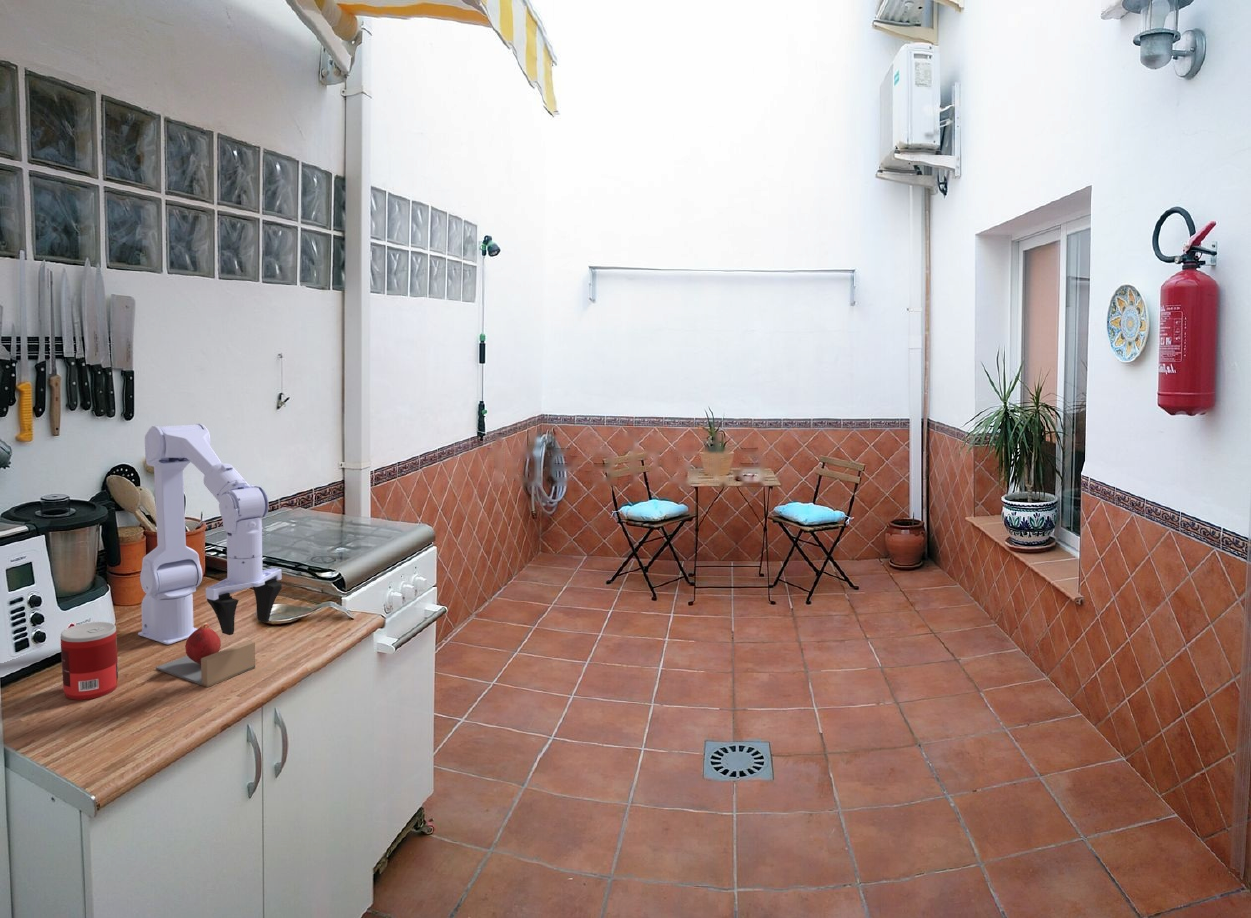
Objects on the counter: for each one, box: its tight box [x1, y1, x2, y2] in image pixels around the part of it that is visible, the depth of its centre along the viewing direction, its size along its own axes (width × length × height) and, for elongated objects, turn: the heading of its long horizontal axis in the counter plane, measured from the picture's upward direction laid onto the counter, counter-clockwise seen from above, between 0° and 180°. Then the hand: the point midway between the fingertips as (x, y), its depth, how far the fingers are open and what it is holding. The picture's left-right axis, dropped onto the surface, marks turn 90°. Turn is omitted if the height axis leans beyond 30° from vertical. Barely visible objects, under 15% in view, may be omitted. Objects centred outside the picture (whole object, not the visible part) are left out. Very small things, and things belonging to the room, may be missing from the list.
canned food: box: [60, 621, 119, 701], centre depth 139 cm, size 8×8×11 cm
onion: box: [184, 622, 222, 664], centre depth 150 cm, size 6×6×8 cm
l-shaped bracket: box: [155, 640, 256, 688], centre depth 150 cm, size 14×10×5 cm
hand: (246, 627), depth 147 cm, fingers open, 7 cm apart
